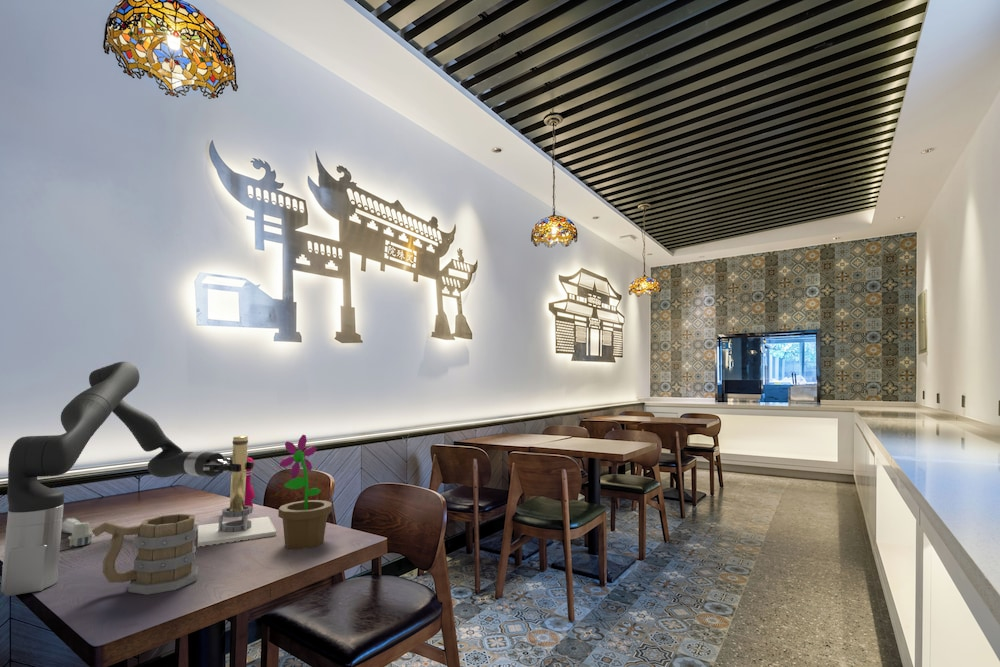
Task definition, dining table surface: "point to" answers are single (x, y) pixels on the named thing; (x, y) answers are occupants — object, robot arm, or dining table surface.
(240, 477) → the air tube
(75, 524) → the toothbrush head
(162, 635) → the dining table surface
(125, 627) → the dining table surface
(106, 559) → the tankard
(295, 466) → the flowerpot
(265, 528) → the base
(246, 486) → the pepper mill
